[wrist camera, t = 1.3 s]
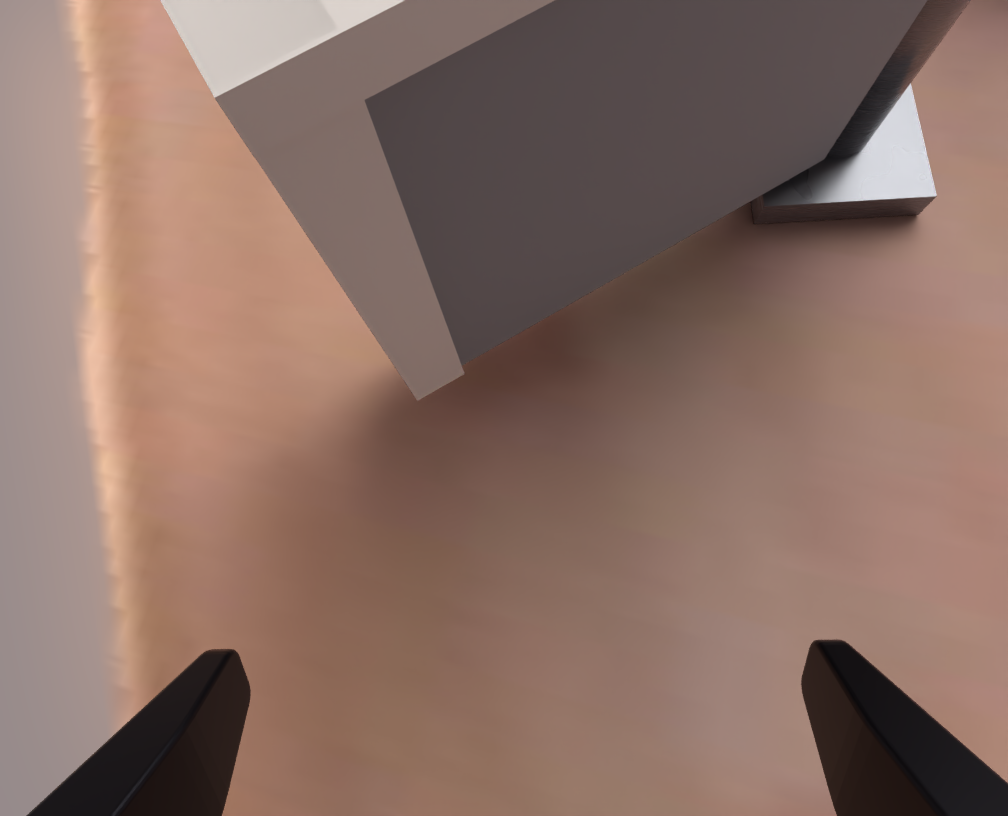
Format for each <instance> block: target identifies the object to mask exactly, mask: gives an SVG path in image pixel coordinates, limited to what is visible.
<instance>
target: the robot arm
mask: <svg viewBox="0 0 1008 816" xmlns="http://www.w3.org/2000/svg"><path fill="white" fill-rule="evenodd" d="M801 685H802V694H803V698H804V701H805V705H806V709H807V712H808V716H809V720H810V723H811V727H812V731H813V734H814V738H815V742H816V745H817V749H818V752H819V756H820V760H821V763H822V767H823V771H824V774H825V778H826V782H827V785H828V789H829V792H830V796H831V799H832V802H833V806H834V809H835V811H836V814H837V816H1008V783H1007V782H1006V781H1005V780H1003V779H1002V778H1001V777H1000V776H999V775H998V774H997V773H995V772H994V771H993V770H992V769H991V768H990V767H989V766H987V765H986V764H985V763H984V762H983V761H982V760H981V759H979V758H978V757H977V756H976V755H975V754H974V753H973V752H971V751H970V750H969V749H968V748H967V747H966V746H965V745H963V744H962V743H961V742H960V741H959V740H958V739H957V738H956V737H954V736H953V735H952V734H951V733H950V732H949V731H948V730H946V729H945V728H944V727H943V726H942V725H941V724H940V723H938V722H937V721H936V720H935V719H934V718H933V717H932V716H930V715H929V714H928V713H927V712H926V711H925V710H924V709H922V708H921V707H920V706H919V705H918V704H917V703H916V702H914V701H913V700H912V699H911V698H910V697H909V696H908V695H906V694H905V693H904V692H903V691H902V690H901V689H900V688H898V687H897V686H896V685H895V684H894V683H893V682H892V681H890V680H889V679H888V678H887V677H886V676H885V675H884V674H882V673H881V672H880V671H879V670H878V669H877V668H876V667H874V666H873V665H872V664H871V663H870V662H869V661H868V660H866V659H865V658H864V657H863V656H862V655H861V654H860V653H859V652H857V651H856V650H855V649H854V648H853V647H852V646H851V645H849V644H848V643H846V642H845V641H842V640H815V641H814V642H812V644H811V645H810V648H809V652H808V656H807V659H806V663H805V667H804V671H803V675H802V681H801ZM249 703H250V685H249V681H248V679H247V676H246V673H245V670H244V668H243V665H242V662H241V659H240V656H239V654H238V653H237V652H236V651H235V650H233V649H212V650H208V651H206V652H204V653H203V654H201V655H200V656H199V657H198V658H197V659H196V660H195V661H194V662H193V663H191V664H190V665H189V666H188V667H187V668H186V669H185V670H184V671H183V672H182V673H181V674H180V675H178V676H177V677H176V678H175V679H174V680H173V681H172V682H171V683H170V684H169V685H168V686H167V687H165V688H164V689H163V690H162V691H161V692H160V693H159V694H158V695H157V696H156V697H155V698H154V699H152V700H151V701H150V702H149V703H148V704H147V705H146V706H145V707H144V708H143V709H142V710H141V711H139V712H138V713H137V714H136V715H135V716H134V717H133V718H132V719H131V720H130V721H129V722H127V723H126V724H125V725H124V726H123V727H122V728H121V729H120V730H119V731H118V732H117V733H116V734H114V735H113V736H112V737H111V738H110V739H109V740H108V741H107V742H106V743H105V744H104V745H103V746H102V747H100V748H99V749H98V750H97V751H96V752H95V753H94V754H93V755H92V756H91V757H90V758H88V759H87V760H86V761H85V762H84V763H83V764H82V765H81V766H80V767H79V768H78V769H77V770H76V771H74V772H73V773H72V774H71V775H70V776H69V777H68V778H67V779H66V780H65V781H64V782H62V783H61V785H59V786H58V787H57V788H56V789H55V790H54V791H53V792H52V793H51V794H50V795H48V796H47V797H46V798H45V799H44V800H43V801H42V802H41V803H40V804H39V805H38V806H37V807H35V808H34V809H33V810H32V811H31V812H30V813H29V814H28V815H27V816H222V813H223V810H224V806H225V802H226V799H227V795H228V791H229V787H230V782H231V778H232V774H233V770H234V766H235V762H236V757H237V753H238V749H239V745H240V741H241V736H242V732H243V728H244V724H245V720H246V715H247V711H248V707H249Z"/></svg>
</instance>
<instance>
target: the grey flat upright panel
mask: <svg viewBox="0 0 1008 816" xmlns="http://www.w3.org/2000/svg"><path fill="white" fill-rule="evenodd" d="M161 2H162V4H163V6H164V8H165V9H166V11H167V13H168V15H169V17H170V18H171V20H172V22H173V24H174V26H175V27H176V29H177V31H178V33H179V35H180V36H181V38H182V40H183V42H184V44H185V45H186V47H187V49H188V51H189V53H190V54H191V56H192V58H193V60H194V62H195V63H196V65H197V67H198V69H199V71H200V72H201V74H202V76H203V78H204V80H205V81H206V83H207V85H208V87H209V89H210V90H211V92H212V94H213V96H214V98H215V99H216V101H217V102H218V104H219V105H220V107H221V108H222V110H223V111H224V113H225V114H226V116H227V117H228V119H229V120H230V122H231V123H232V125H233V126H234V128H235V129H236V131H237V132H238V134H239V135H240V137H241V138H242V140H243V141H244V143H245V144H246V146H247V147H248V149H249V150H250V152H251V153H252V155H253V156H254V158H256V160H257V161H258V163H259V164H260V166H261V167H262V169H263V170H264V172H265V173H266V175H267V176H268V178H269V179H270V181H271V182H272V184H273V185H274V187H275V188H276V190H277V191H278V193H279V194H280V196H281V197H282V199H283V200H284V202H285V203H286V205H287V206H288V208H289V209H290V211H291V212H292V214H293V215H294V217H295V218H296V220H297V221H298V223H299V224H300V226H301V227H302V229H303V230H304V232H305V233H306V235H307V236H308V238H309V239H310V241H311V242H312V244H313V245H314V247H315V248H316V250H317V251H318V253H319V254H320V256H321V257H322V259H323V260H324V262H325V263H326V265H327V266H328V268H329V269H330V271H331V272H332V274H333V275H334V277H335V278H336V280H337V281H338V283H339V284H340V286H341V287H342V289H343V290H344V292H345V293H346V295H347V296H348V298H349V299H350V301H351V302H352V304H353V305H354V307H355V308H356V310H357V311H358V313H359V314H360V316H361V317H362V319H363V320H364V321H365V323H366V324H367V326H368V327H369V329H370V330H371V332H372V333H373V335H374V336H375V338H376V339H377V341H378V342H379V344H380V345H381V347H382V348H383V350H384V351H385V353H386V354H387V356H388V357H389V359H390V360H391V362H392V363H393V365H394V366H395V368H396V369H397V371H398V372H399V374H400V375H401V377H402V378H403V380H404V381H405V383H406V384H407V386H408V387H409V389H410V390H411V392H412V393H413V395H414V396H415V398H416V399H417V401H418V400H420V399H422V398H424V397H425V396H427V395H429V394H431V393H432V392H434V391H436V390H438V389H439V388H441V387H443V386H445V385H446V384H448V383H450V382H452V381H453V380H455V379H457V378H459V377H460V376H462V375H464V374H465V373H464V371H463V368H462V365H464V364H466V363H468V362H469V361H471V360H473V359H475V358H476V357H478V356H480V355H482V354H483V353H485V352H487V351H489V350H490V349H492V348H494V347H496V346H497V345H499V344H501V343H503V342H505V341H506V340H508V339H510V338H512V337H513V336H515V335H517V334H519V333H520V332H522V331H524V330H526V329H527V328H529V327H531V326H533V325H534V324H536V323H538V322H540V321H541V320H543V319H545V318H547V317H548V316H550V315H552V314H554V313H555V312H557V311H559V310H561V309H562V308H564V307H566V306H568V305H569V304H571V303H573V302H575V301H576V300H578V299H580V298H582V297H583V296H585V295H587V294H589V293H591V292H592V291H594V290H596V289H598V288H599V287H601V286H603V285H605V284H606V283H608V282H610V281H612V280H613V279H615V278H617V277H619V276H620V275H622V274H624V273H626V272H627V271H629V270H631V269H633V268H634V267H636V266H638V265H640V264H641V263H643V262H645V261H647V260H648V259H650V258H652V257H654V256H655V255H657V254H659V253H661V252H662V251H664V250H666V249H668V248H669V247H671V246H673V245H675V244H677V243H678V242H680V241H682V240H684V239H685V238H687V237H689V236H691V235H692V234H694V233H696V232H698V231H699V230H701V229H703V228H705V227H706V226H708V225H710V224H712V223H713V222H715V221H717V220H719V219H720V218H722V217H724V216H726V215H727V214H729V213H731V212H733V211H734V210H736V209H738V208H740V207H741V206H743V205H745V204H747V203H748V202H750V201H752V200H754V199H755V198H757V197H759V196H761V195H762V194H764V193H766V192H768V191H770V190H771V189H773V188H775V187H777V186H778V185H780V184H782V183H784V182H785V181H787V180H789V179H791V178H792V177H794V176H796V175H798V174H799V173H801V172H803V171H805V170H806V169H808V168H810V167H812V166H813V165H815V164H817V163H819V162H820V161H822V160H824V159H825V157H826V156H827V154H828V153H829V151H830V150H831V148H832V146H833V145H834V143H835V142H836V140H837V139H838V137H839V136H840V134H841V133H842V131H843V130H844V128H845V126H846V125H847V123H848V122H849V120H850V119H851V117H852V116H853V114H854V113H855V111H856V109H857V108H858V106H859V105H860V103H861V102H862V100H863V99H864V97H865V96H866V94H867V93H868V91H869V89H870V88H871V86H872V85H873V83H874V82H875V80H876V79H877V77H878V76H879V74H880V73H881V71H882V69H883V68H884V66H885V65H886V63H887V62H888V60H889V59H890V57H891V56H892V54H893V53H894V51H895V49H896V48H897V46H898V45H899V43H900V42H901V40H902V39H903V37H904V36H905V34H906V33H907V31H908V29H909V28H910V26H911V25H912V23H913V22H914V20H915V19H916V17H917V16H918V14H919V13H920V11H921V9H922V8H923V6H924V5H925V3H926V2H927V0H161Z"/></svg>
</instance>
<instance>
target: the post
mask: <svg viewBox="0 0 1008 816" xmlns="http://www.w3.org/2000/svg"><path fill="white" fill-rule="evenodd" d="M969 2H970V0H927V2H926V3H925V5H924V6H923V8H922V9H921V11H920V13H919V14H918V16H917V17H916V19H915V20H914V22H913V23H912V25H911V26H910V28H909V29H908V31H907V33H906V34H905V36H904V37H903V39H902V40H901V42H900V43H899V45H898V46H897V48H896V49H895V51H894V53H893V54H892V56H891V57H890V59H889V60H888V62H887V63H886V65H885V66H884V68H883V69H882V71H881V73H880V74H879V76H878V77H877V79H876V80H875V82H874V83H873V85H872V86H871V88H870V89H869V91H868V93H867V94H866V96H865V97H864V99H863V100H862V102H861V103H860V105H859V106H858V108H857V109H856V111H855V113H854V114H853V116H852V117H851V119H850V120H849V122H848V123H847V125H846V126H845V128H844V130H843V131H842V133H841V134H840V136H839V137H838V139H837V140H836V142H835V143H834V145H833V146H832V148H831V150H830V151H829V153H828V154H827V156H826V157H825V159H824V160H822V161H820V162H819V163H817V164H815V165H813V166H812V167H810V168H808V169H806V170H805V171H803V172H801V173H799V174H798V175H796V176H794V177H792V178H791V179H789V180H787V181H785V182H784V183H782V184H780V185H778V186H777V187H775V188H773V189H771V190H770V191H768V192H766V193H764V194H762V195H761V196H759V197H757V198H755V199H754V200H752V201H751V207H752V213H753V220H754V224H764V223H781V222H799V221H816V220H833V219H851V218H868V217H886V216H903V215H918V214H919V213H920V212H921V211H922V210H923V209H924V208H925V207H926V206H927V205H928V204H929V203H930V202H931V201H932V200H933V199H934V198H935V197H936V196H937V195H936V191H935V187H934V182H933V178H932V174H931V169H930V165H929V161H928V156H927V152H926V148H925V143H924V139H923V135H922V130H921V126H920V122H919V117H918V113H917V109H916V104H915V100H914V96H913V91H912V87H911V82H912V81H913V79H914V78H915V77H916V75H917V74H918V72H919V71H920V70H921V68H922V67H923V65H924V64H925V63H926V61H927V60H928V59H929V57H930V56H931V54H932V53H933V52H934V50H935V49H936V47H937V46H938V45H939V43H940V42H941V41H942V39H943V38H944V36H945V35H946V34H947V32H948V31H949V29H950V28H951V27H952V25H953V24H954V23H955V21H956V20H957V18H958V17H959V16H960V14H961V13H962V11H963V10H964V9H965V7H966V6H967V5H968V3H969Z"/></svg>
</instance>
